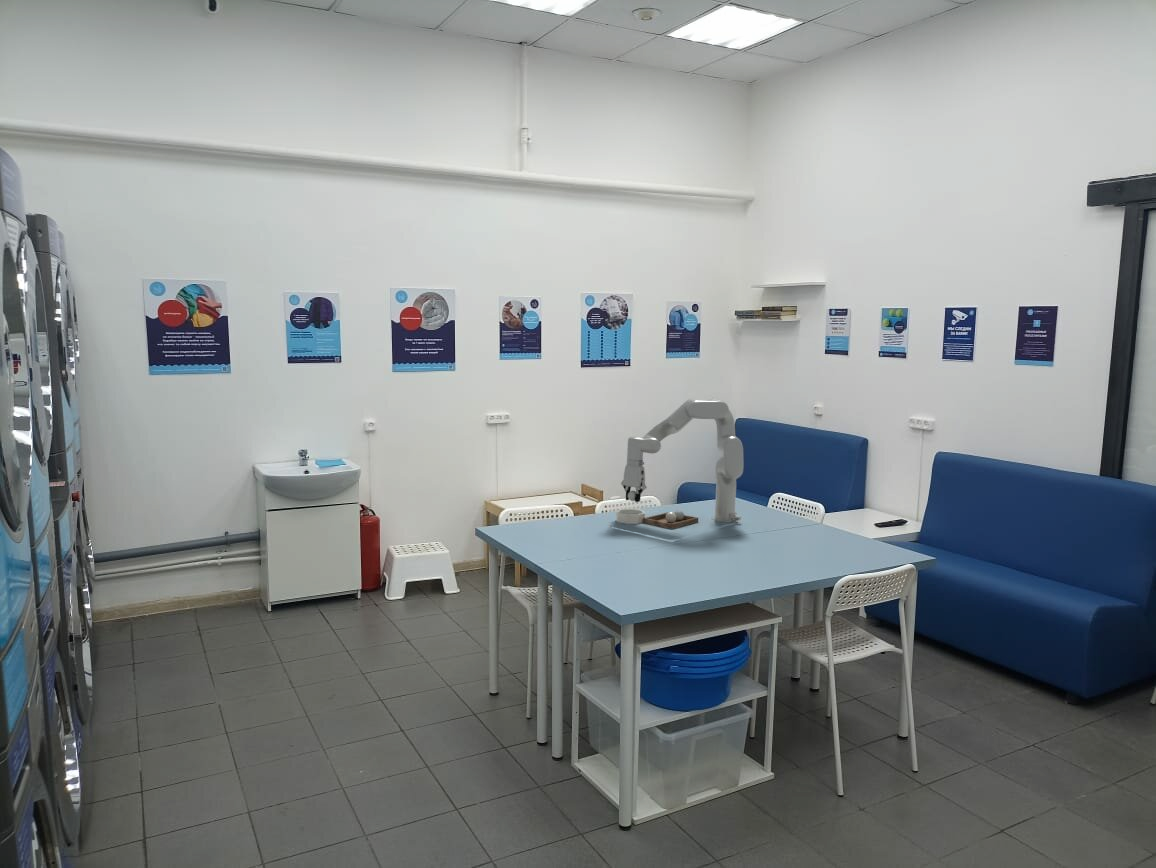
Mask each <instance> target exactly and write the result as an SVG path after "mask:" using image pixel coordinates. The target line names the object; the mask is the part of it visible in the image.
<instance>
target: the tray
mask: <svg viewBox="0 0 1156 868" xmlns="http://www.w3.org/2000/svg"><path fill="white" fill-rule="evenodd" d="M669 512H670V511H668V512H667V511H666V512H664V513H663V512H662V513H660V514H659V513H658V514H655V515H650V516H647V517H646V516H645V518H643V524H646V525H651V526H655V527H660V528H664V529H669V530H675V529H677V528H682V527H686V526H690V525H694V524H697V523H699V517H697V516H692V515H687V514H684V518H683V519H682V520H680V521H678V520H675V521H674V522H672V523H669V522H668V521H667V520H666V514H667V513H669Z"/></svg>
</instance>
